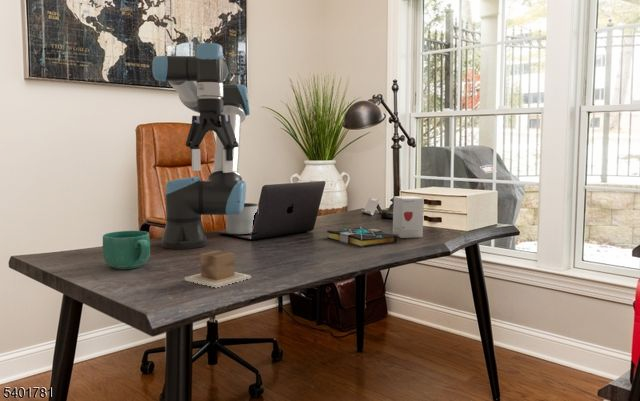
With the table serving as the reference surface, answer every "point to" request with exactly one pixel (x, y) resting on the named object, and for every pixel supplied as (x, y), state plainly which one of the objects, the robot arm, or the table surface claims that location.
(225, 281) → the coaster
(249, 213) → the planter
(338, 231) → the book
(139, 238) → the mug
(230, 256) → the walnut cube
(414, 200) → the supplement box
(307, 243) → the table surface
